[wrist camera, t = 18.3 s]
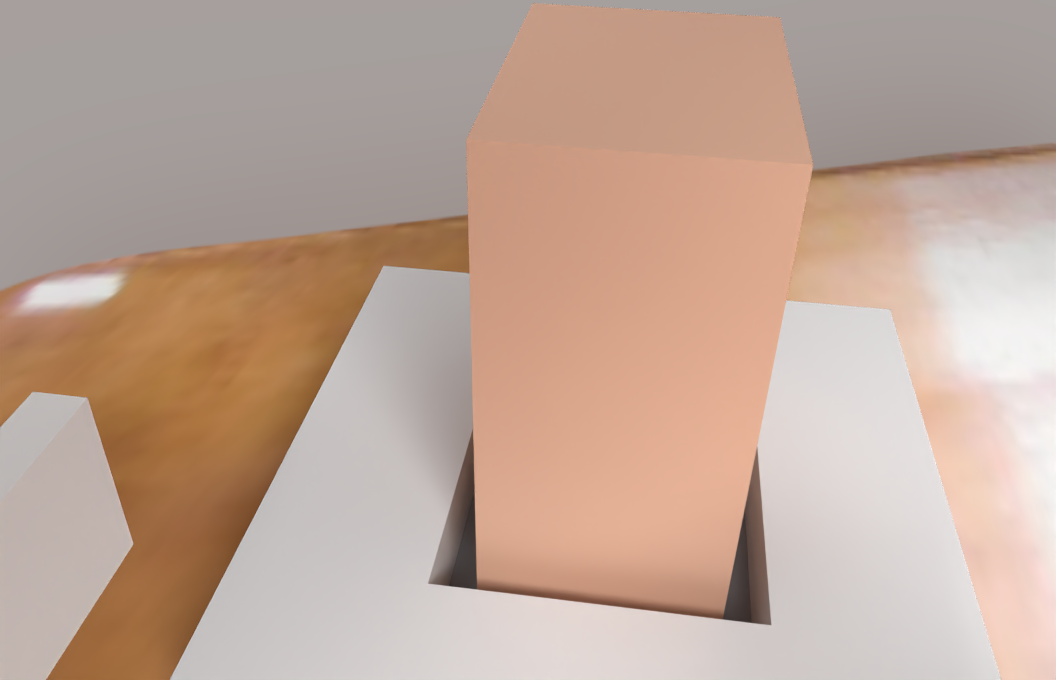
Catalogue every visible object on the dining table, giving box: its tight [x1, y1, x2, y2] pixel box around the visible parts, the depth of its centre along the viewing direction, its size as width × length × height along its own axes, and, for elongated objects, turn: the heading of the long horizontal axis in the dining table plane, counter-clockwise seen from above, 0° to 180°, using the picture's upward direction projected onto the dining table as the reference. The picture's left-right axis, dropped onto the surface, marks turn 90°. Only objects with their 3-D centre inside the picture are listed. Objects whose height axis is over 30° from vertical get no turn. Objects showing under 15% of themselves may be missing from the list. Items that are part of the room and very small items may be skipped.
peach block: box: [466, 3, 813, 620], centre depth 20 cm, size 5×7×11 cm
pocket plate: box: [170, 266, 1001, 680], centre depth 23 cm, size 15×15×2 cm
